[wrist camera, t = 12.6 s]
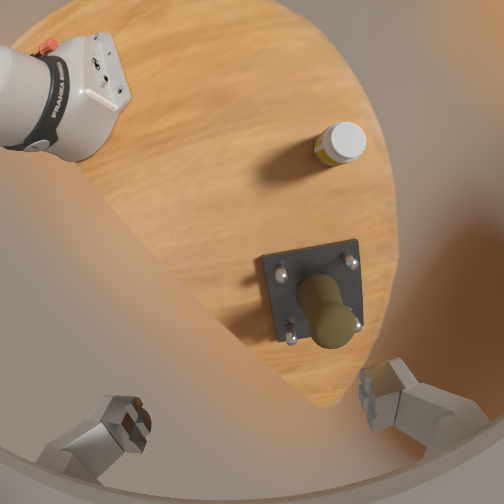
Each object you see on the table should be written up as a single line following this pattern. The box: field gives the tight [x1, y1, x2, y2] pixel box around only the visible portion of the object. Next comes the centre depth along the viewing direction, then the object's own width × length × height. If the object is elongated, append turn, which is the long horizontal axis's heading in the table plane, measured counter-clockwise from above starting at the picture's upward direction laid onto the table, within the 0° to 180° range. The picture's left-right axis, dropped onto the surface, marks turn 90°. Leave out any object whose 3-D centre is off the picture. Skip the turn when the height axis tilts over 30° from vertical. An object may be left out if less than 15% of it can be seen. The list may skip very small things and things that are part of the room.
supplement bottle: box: [314, 122, 366, 166], centre depth 31 cm, size 5×5×8 cm
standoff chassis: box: [262, 239, 364, 345], centre depth 37 cm, size 13×13×5 cm
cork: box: [296, 274, 356, 349], centre depth 33 cm, size 6×6×11 cm
